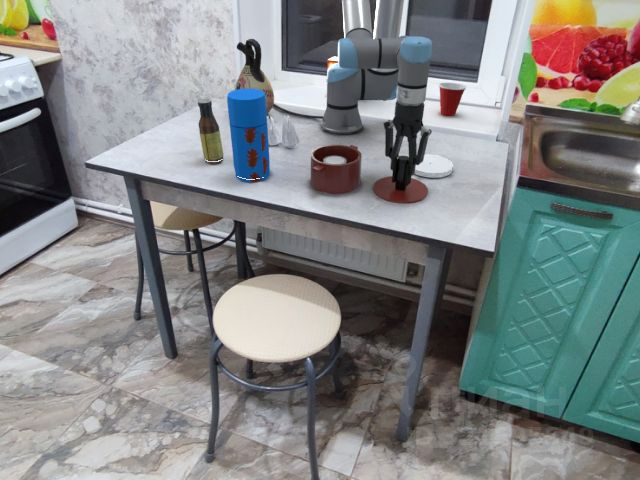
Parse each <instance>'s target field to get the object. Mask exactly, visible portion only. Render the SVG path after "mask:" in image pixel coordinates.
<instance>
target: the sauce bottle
mask: <svg viewBox="0 0 640 480" xmlns="http://www.w3.org/2000/svg"><path fill="white" fill-rule="evenodd" d="M212 102H213V101H212V100H211V99H209V98H204V99H199V100H197V106H198V108H199V115H200V118H199V121H198V129H199V137H200V142H201V148H202V155H203V158H204V161H205V159H206V160H208V161H218V160H221V159H223V160H221V161H219V162H207V161H205V163H206V164H209V165H219V164H221V163H222V162H224V150H223V144H222V143H223V142H222V138H221V131H220V125H219V124H218V123H219V122H217V119H216V117H215V115H214V112H213V107H212V104H213V103H212Z"/></svg>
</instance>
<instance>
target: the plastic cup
mask: <svg viewBox="0 0 640 480" xmlns="http://www.w3.org/2000/svg"><path fill="white" fill-rule="evenodd" d="M438 86H439V107H440V108H439V109H440V110H439V112H440V115H441V116H442V117H446V118H447V117H448V118H452V117H455V116H456V114H457V110H458V108H459V106H460V102H461V100H462V97H463V95H464V92H465V90H467V85H464V84H461V83H457V82H439V84H438Z"/></svg>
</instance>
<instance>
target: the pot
mask: <svg viewBox="0 0 640 480" xmlns="http://www.w3.org/2000/svg"><path fill="white" fill-rule="evenodd" d="M328 156H341V157H344V158H345V159H346V161H347V162H346V164H327V163H323V159H324V158H326V157H328ZM362 157H363V156H362V152H361V151H360V150H359V148H358V146H356V145H353V144H350V145H344V144H325V145H321V146H318V147H315V148H314V149H313V150H312V151H311V152H310V185H311V187H312V188H313V189H314V190H316V191H318V192H322V193H323V194H330V195H344V194H349V193H351V192H354V191H356V190H357V189H358V188H359V187H360V185H361V177H362V176H361V175H362Z"/></svg>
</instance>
